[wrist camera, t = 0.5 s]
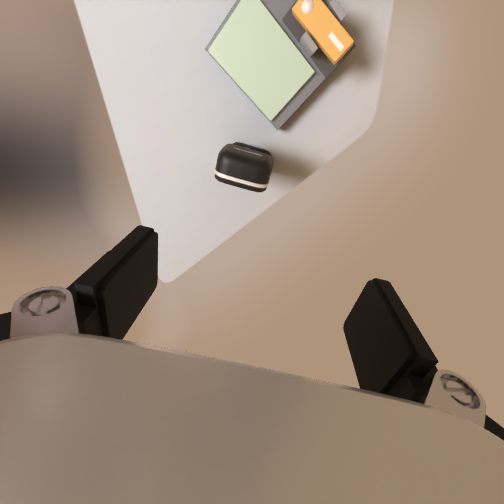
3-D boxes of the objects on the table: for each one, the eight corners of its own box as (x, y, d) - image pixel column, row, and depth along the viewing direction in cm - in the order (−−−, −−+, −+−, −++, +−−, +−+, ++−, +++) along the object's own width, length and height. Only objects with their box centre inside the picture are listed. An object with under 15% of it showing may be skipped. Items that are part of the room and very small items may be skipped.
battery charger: (276, 147, 38) (275, 164, 29) (269, 172, 40) (266, 196, 31) (231, 134, 38) (215, 147, 28) (226, 160, 40) (209, 180, 30)
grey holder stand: (208, 51, 33) (196, 43, 28) (279, -55, 28) (279, -87, 23) (277, 128, 37) (277, 133, 32) (350, 49, 32) (363, 40, 27)
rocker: (292, 14, 28) (291, 8, 27) (310, -8, 27) (309, -15, 26) (334, 65, 28) (334, 61, 27) (352, 45, 27) (353, 40, 26)
